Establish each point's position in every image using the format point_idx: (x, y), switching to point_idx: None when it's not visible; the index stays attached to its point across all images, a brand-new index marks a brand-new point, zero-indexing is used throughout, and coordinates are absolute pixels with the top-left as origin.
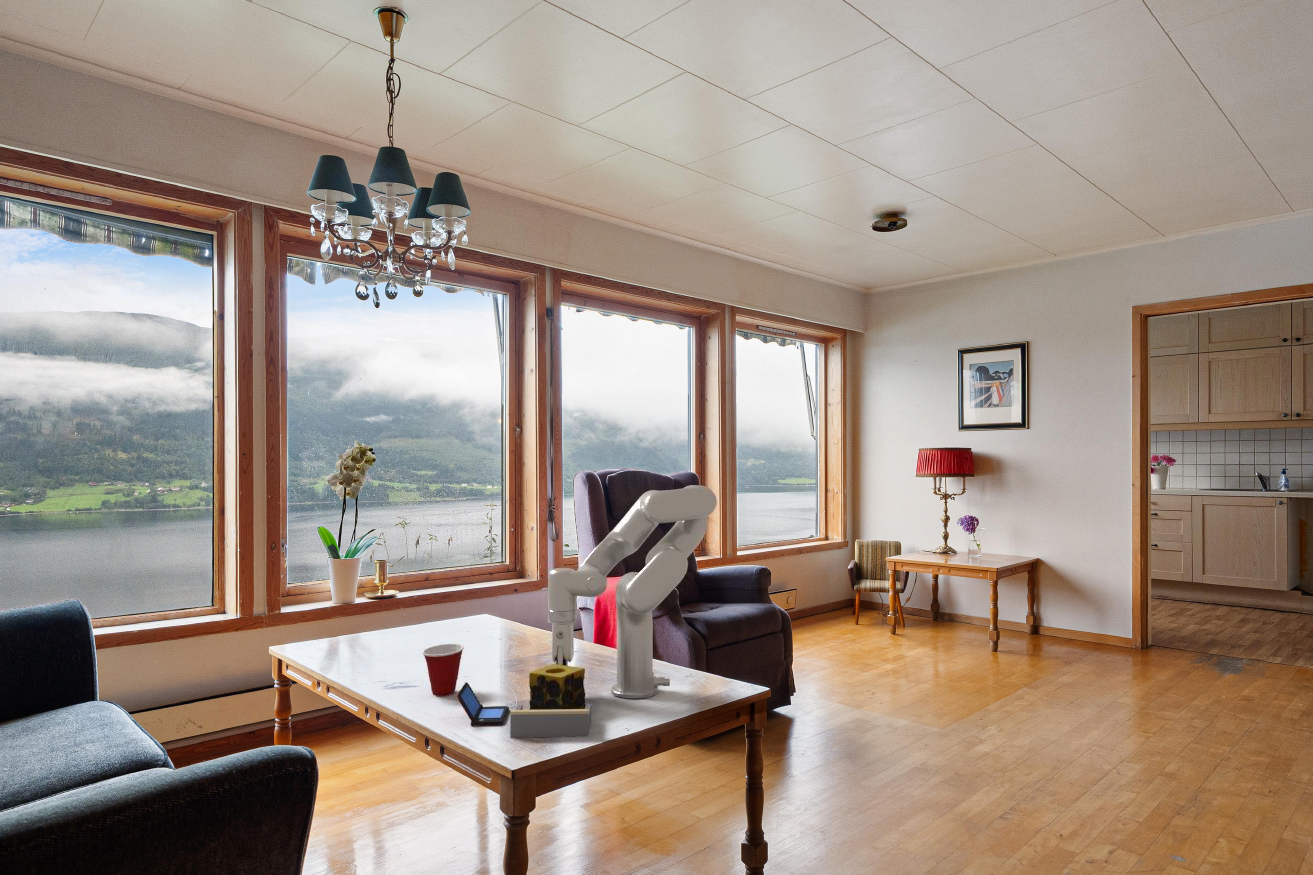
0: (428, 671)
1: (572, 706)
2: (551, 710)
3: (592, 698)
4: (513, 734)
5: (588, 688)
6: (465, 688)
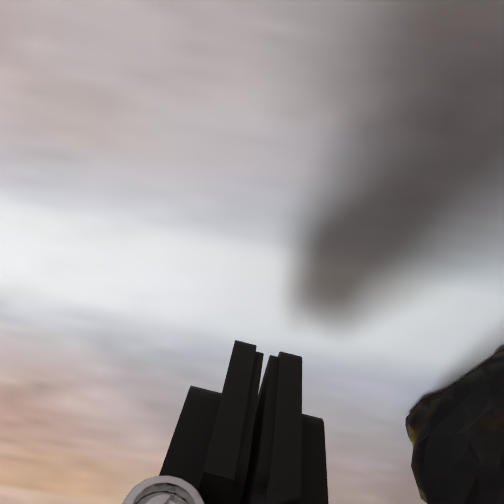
0: None
1: None
2: None
3: (401, 63)
4: None
5: (9, 40)
6: None
